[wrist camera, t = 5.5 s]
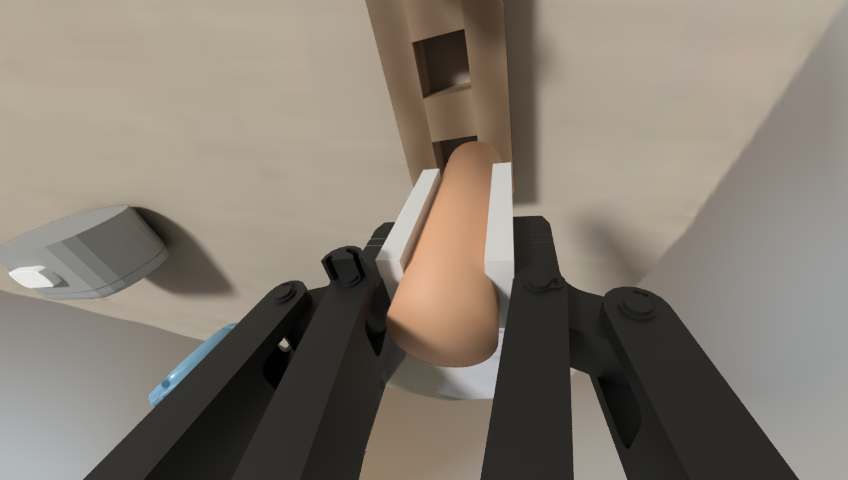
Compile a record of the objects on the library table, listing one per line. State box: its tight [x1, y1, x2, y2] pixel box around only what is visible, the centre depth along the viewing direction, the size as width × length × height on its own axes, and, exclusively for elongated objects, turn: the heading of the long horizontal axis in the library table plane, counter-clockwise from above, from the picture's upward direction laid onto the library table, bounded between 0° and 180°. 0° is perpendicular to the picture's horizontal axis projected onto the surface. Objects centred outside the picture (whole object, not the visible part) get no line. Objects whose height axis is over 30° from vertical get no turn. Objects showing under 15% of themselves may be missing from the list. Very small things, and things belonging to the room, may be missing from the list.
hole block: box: [365, 0, 514, 193], centre depth 26 cm, size 10×24×4 cm, turn 13°
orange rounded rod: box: [386, 141, 502, 367], centre depth 12 cm, size 3×3×11 cm
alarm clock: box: [0, 205, 169, 300], centre depth 47 cm, size 21×10×13 cm, turn 104°
